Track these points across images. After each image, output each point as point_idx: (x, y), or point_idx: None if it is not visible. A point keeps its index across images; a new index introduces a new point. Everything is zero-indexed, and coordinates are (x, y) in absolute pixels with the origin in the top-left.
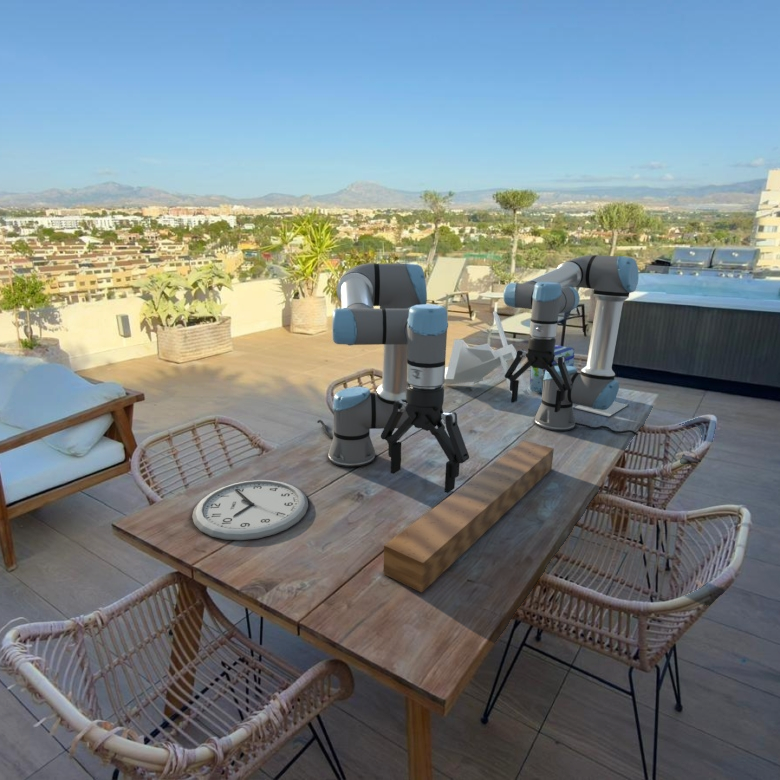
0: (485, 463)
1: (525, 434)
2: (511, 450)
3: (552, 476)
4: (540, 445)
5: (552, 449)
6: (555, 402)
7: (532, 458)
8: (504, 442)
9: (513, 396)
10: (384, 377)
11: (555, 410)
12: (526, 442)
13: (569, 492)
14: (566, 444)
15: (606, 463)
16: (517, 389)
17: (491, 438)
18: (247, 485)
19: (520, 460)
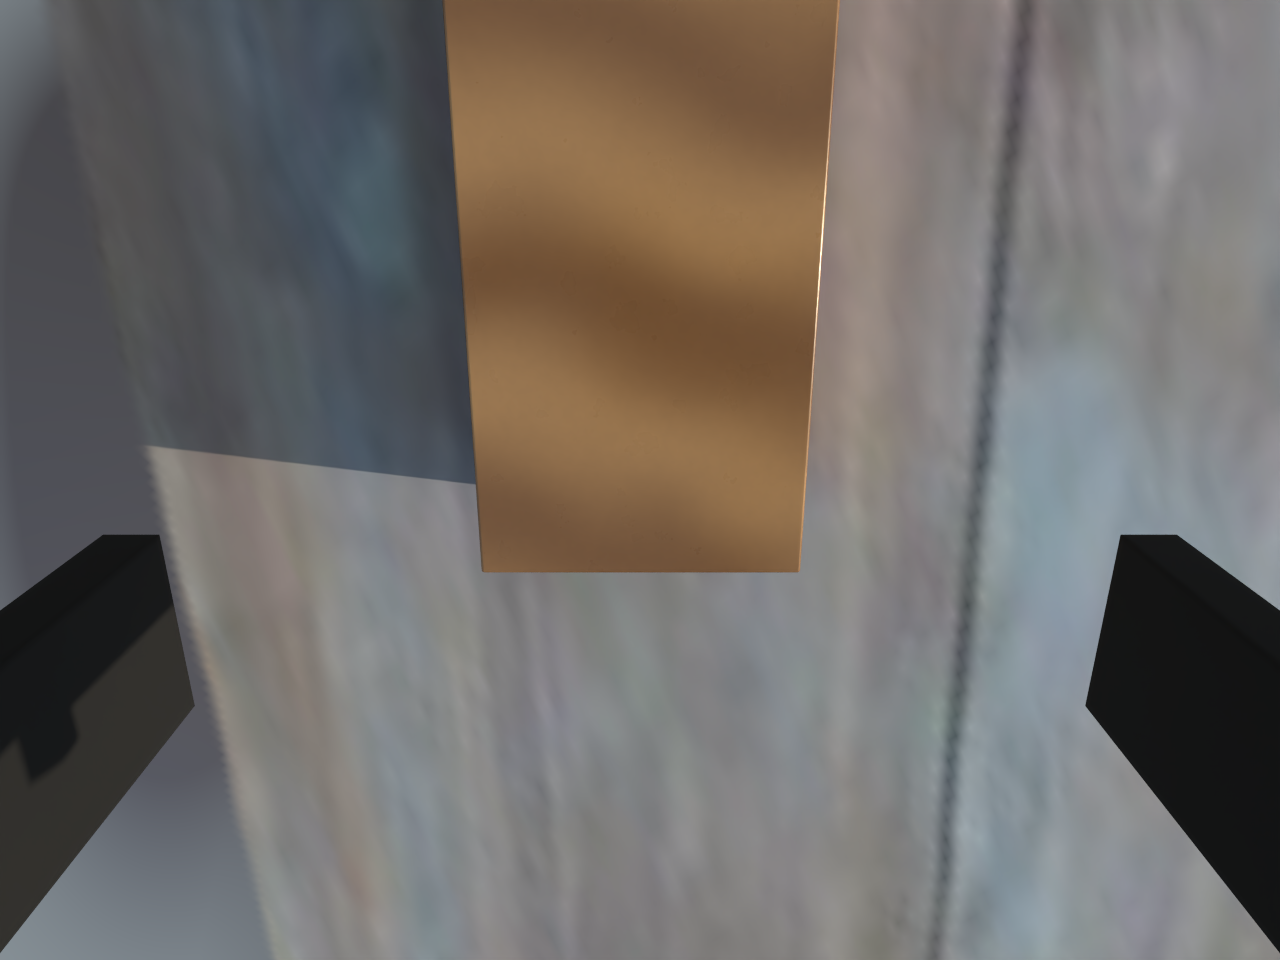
0: (1017, 249)
1: (915, 930)
2: (809, 245)
3: (451, 376)
4: (612, 557)
5: (480, 540)
6: (20, 647)
7: (539, 188)
8: (1010, 721)
9: (1221, 609)
10: None
11: (121, 551)
12: (754, 541)
13: (218, 181)
14: (600, 935)
15: (253, 813)
16: (1258, 880)
17: None
18: None
19: (621, 40)
